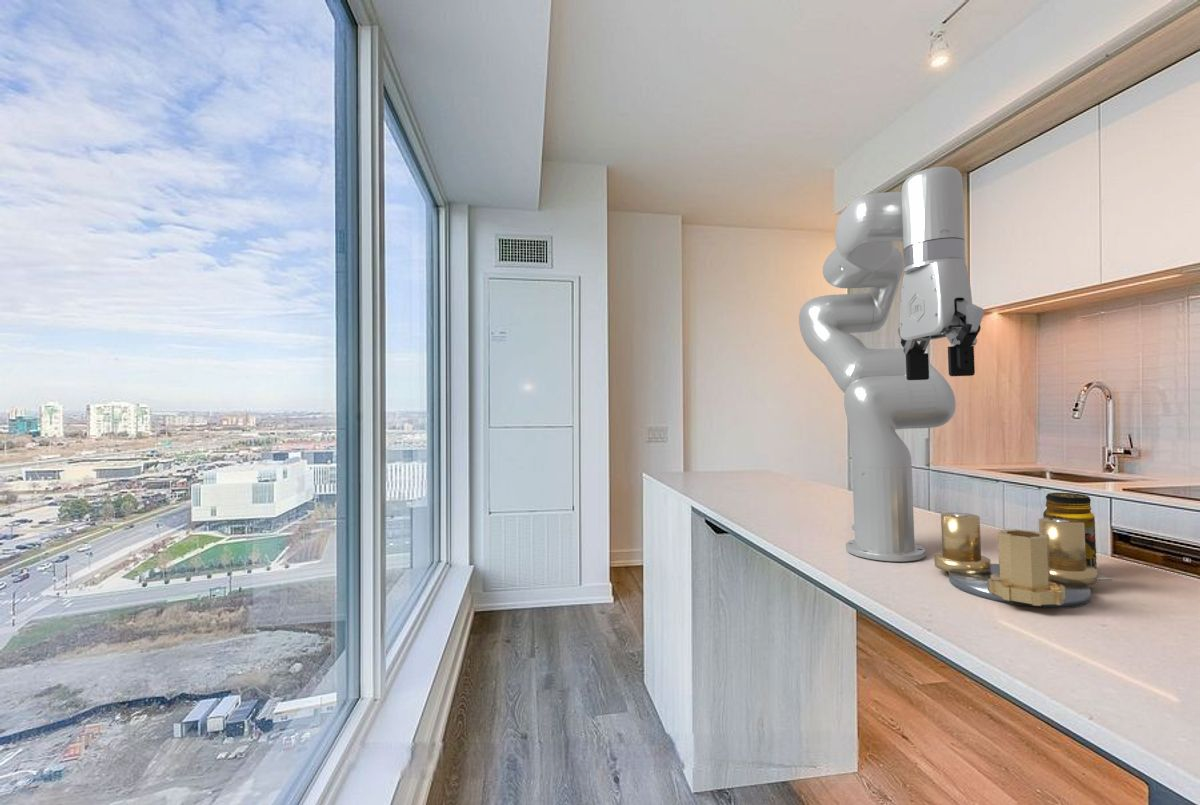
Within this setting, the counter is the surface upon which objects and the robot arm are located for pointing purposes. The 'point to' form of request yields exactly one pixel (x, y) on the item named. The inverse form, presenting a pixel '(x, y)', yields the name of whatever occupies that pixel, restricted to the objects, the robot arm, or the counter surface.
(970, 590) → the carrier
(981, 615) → the counter surface
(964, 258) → the robot arm
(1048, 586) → the gold hollow octagonal piece
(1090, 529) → the condiment
